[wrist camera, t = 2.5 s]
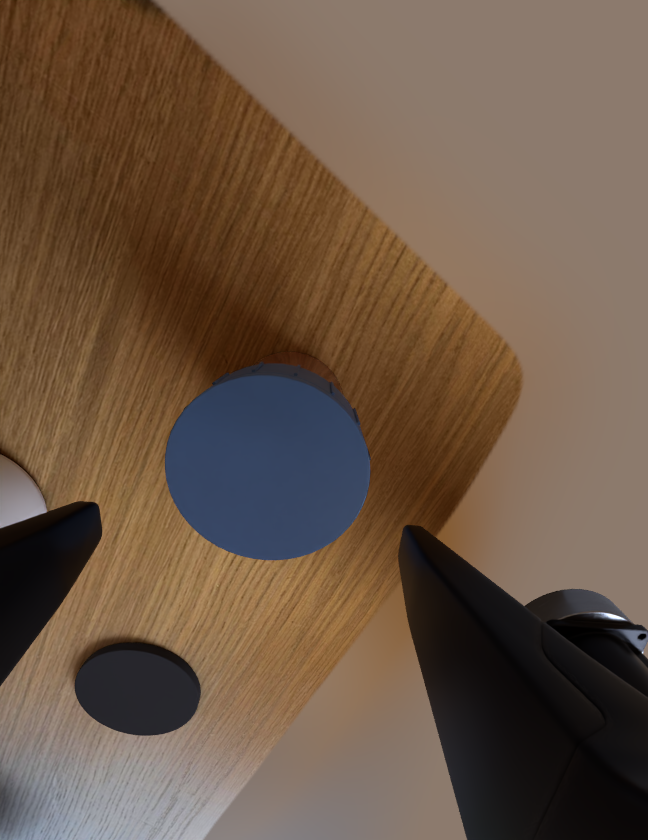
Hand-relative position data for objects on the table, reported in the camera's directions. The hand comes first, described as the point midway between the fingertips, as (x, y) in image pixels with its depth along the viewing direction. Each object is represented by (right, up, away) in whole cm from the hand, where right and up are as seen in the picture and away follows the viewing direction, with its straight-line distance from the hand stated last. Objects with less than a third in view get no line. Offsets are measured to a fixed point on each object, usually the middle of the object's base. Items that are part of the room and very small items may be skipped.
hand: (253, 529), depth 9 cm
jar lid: (0, +1, +3) cm, 3 cm away
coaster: (-12, -17, +17) cm, 27 cm away
